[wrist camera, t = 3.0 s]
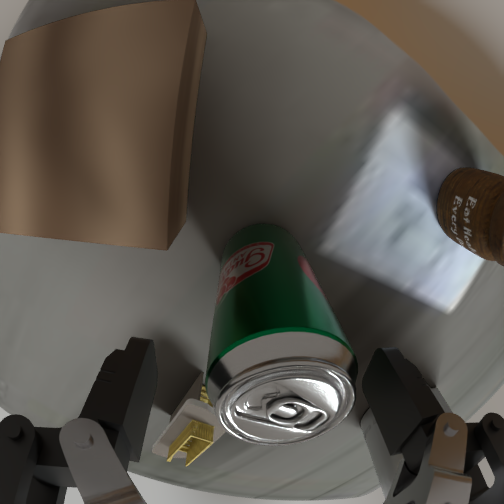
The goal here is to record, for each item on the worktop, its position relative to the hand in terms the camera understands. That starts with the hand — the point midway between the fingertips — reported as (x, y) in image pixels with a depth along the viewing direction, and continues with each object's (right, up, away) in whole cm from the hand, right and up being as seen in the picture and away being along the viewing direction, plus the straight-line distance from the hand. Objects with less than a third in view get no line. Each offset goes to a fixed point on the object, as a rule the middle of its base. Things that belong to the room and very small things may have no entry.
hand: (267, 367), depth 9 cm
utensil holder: (+16, +8, +9) cm, 19 cm away
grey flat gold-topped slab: (-6, -9, +15) cm, 18 cm away
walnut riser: (-10, +12, +6) cm, 17 cm away
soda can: (0, +4, +9) cm, 10 cm away
